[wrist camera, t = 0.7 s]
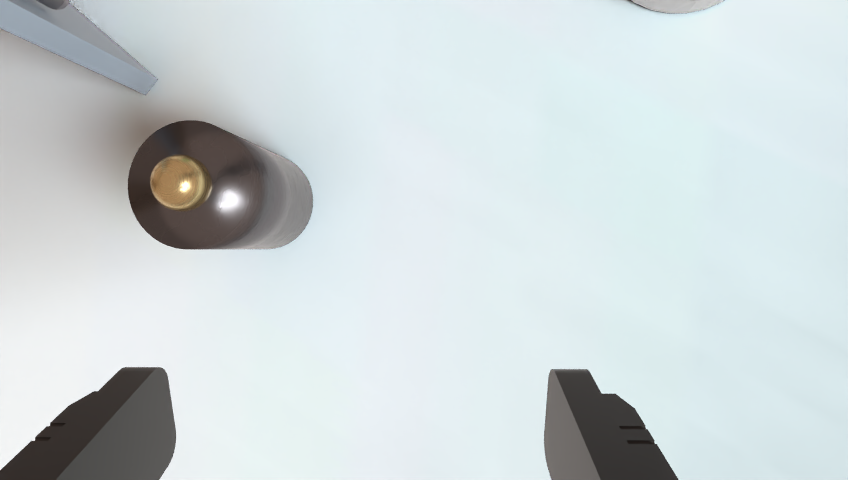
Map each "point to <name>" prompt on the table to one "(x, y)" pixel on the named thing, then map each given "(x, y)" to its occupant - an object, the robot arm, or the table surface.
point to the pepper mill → (216, 190)
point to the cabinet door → (73, 39)
